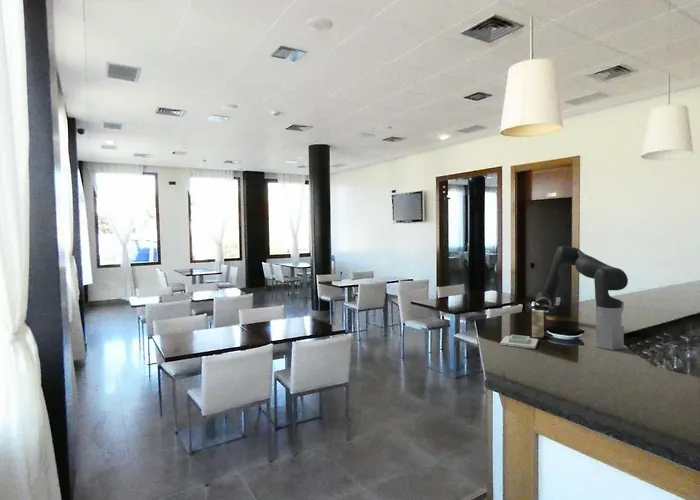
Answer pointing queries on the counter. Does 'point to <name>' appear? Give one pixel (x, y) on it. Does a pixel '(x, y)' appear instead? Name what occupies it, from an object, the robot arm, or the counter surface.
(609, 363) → the counter surface
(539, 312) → the beige square block
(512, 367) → the counter surface
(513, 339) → the base plate
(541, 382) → the counter surface
